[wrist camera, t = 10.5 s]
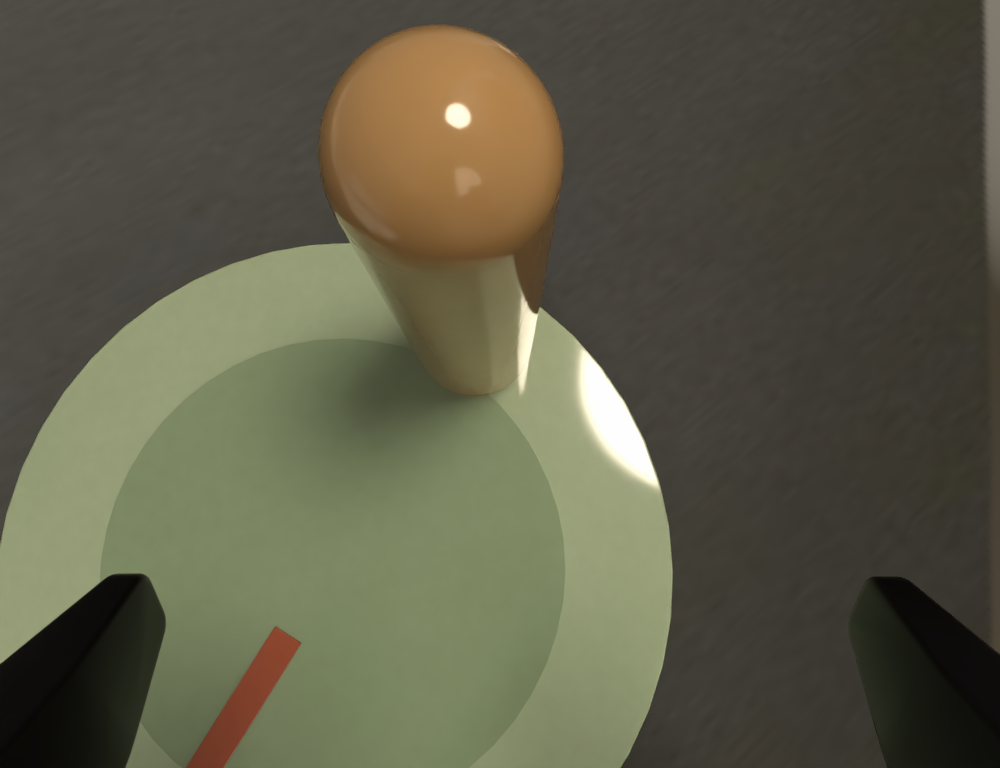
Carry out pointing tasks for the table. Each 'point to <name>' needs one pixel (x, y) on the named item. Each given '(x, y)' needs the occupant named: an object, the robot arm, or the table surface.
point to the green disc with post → (370, 465)
